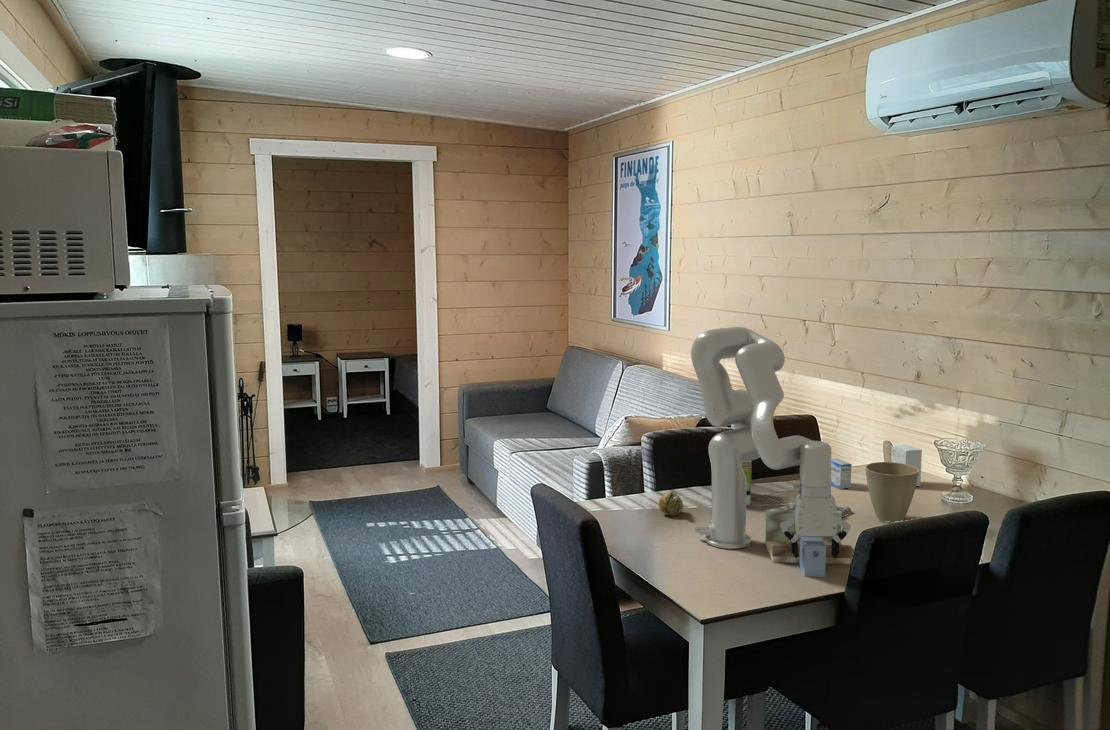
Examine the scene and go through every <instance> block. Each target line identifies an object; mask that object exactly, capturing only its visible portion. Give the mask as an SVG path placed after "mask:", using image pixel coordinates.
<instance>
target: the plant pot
mask: <svg viewBox="0 0 1110 730" xmlns="http://www.w3.org/2000/svg"><path fill="white" fill-rule="evenodd" d="M864 468H865V476H866V477H865V479H866V484H867V489H868V494H869V498H870V501H871V505H872V508H873V511H874V514H875V516H876V517H875V518H876V519H877V518H878V519H879V520H878V519H877V520H878V521H880V520H882V521H890V522H895V521H901V520H903V521H904V520H905V518H906V516H907V514H908V512H909V509H910V506H911V503H912V501H913V498H914V494H915V492H916V491H915V490H916V488H917V487H916V483H917V478H918V473H919V469H918V468H916V467H914V466H911V465H908V464H903V463H895V462H891V461H879V462H878V461H876V462H871V463H868V464H866V465H865V466H864ZM882 521H881V522H882ZM890 522H889V523H888V522H887V524H891V523H890Z"/></svg>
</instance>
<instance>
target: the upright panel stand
mask: <svg viewBox="0 0 1110 730" xmlns="http://www.w3.org/2000/svg"><path fill="white" fill-rule="evenodd" d="M794 511H795V510H771V509H765V539H764V540H765V542H764V543H765V544H764V545H765V547H766V549H767V552H768V554H769V556H770V559H771V561H772V562H773V563H797V564H798V563H799V562H800V537H799V538H798V539H797V543H798V557H797V558H795V557H794V555H793V554H791V541H790V540H789V539H788V538H787V537H786V536H785V535H784V533H783V531H782V529H781V527H780V523H782V522H784V521H786V520H788V519H790V518H792V517H794ZM837 518H839V519H841V520H843V518H842V512H841V511H837ZM787 530H788V531H789V532H790V533H792V532H793V531H794V530H795V529H794V524H792V525H790V526H788V527H787ZM841 530H842V526H840V525H838V524H837V534H838V533H839V532H840V531H841ZM821 539H822V540H823V542H824V544H825V545H826V564H840V565H841V564H842V565H844V564H845V565H851V564H852V553H853V552H852V551H853V547H852V546H851V544H843V543H842V541H841V542H840V543H839V554H837V558H834V557H833V556H832V553H831V551H832V539H833V537H821ZM850 563H851V564H850Z"/></svg>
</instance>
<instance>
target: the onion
mask: <svg viewBox="0 0 1110 730" xmlns="http://www.w3.org/2000/svg"><path fill="white" fill-rule="evenodd" d="M658 507H659V510H660V511H661V512H662V513H663V514H664V515H665V516H669V515H674V516H677V515H679V514H681V513H682V511H683V509H684V502H683V500H682V499H681V497H680V496H679V494H678V493H677V492H675V491H672V490H670V491H669V492H667V493H665V494H663V495H662V496H661V497H660V498H659V500H658Z"/></svg>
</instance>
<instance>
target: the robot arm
mask: <svg viewBox="0 0 1110 730" xmlns="http://www.w3.org/2000/svg"><path fill="white" fill-rule="evenodd" d="M733 358H734V361H735V365H736V368H737V369H738V372H739V375H740V377H741V380H742V382H743V385H744V387H745V389H741V388H740V389H739V388H738V389H734V390H733V387H732V385H731V379H730V376H729V373H728V371H727V369H726V368H725V366H724V365H723V364H722V363H721V360H726V359H733ZM690 359H691V362H692V366H693V369H694V371H695V375H696V377H697V381H698V385H699V390H700V393H701V398H702V402H703V408H704V413H705V415H706V418H707V421H708V422H709V424H711V426H713V427H717V428H723V427H727V426H728V427H729V426H732V425H733V426H734V429H730V430H725V431H722V432H719V433H717V434H715V435H714V436H713V437H712V438H711V439H710V441H709V442H708V443H709V444H708V456H709V461H710V467H711V469H710V470H711V511H710V513H711V515H710V516H711V518H710V519H711V521H710V522H709V524H706V525H705V526H702V525H695V526H694V533H695V534H697V533H698V534H699V536H705V541H706V543H707V544H709V545H711V546H713V547H716V548H719V549H720V548H721V549H729V550H732V549H735V550H737V549H744V548H746V547H749V546H750V545H751V544H752V538H751V536H750V535H749V534H747V533H746V532H747V529H746V528H747V505H746V488H747V482H746V476H745V473H744V471H743V469H742V465H741V464H742V463H744V462H748V461H751V462H752V461H755V460H758V459H759V458H760V459H761V461H762V462H763V464H764V465H765V466H766V467H768V468H769V469H771V470H777V471H778V470H779V471H780V470H782V469H783V470H784V469H787V468H790V467H797V466H799V482H798V485H793V492H797V493H798V494H797V495H796V499H795V502H794V503H795V511H794V517H792V518H790V519H788V520H786V521H784V522H782V523H780V527H781V529H782V531H783V533H784V535H785V536H786V537H787V538H788V539H789V540H790V541H791V554H793V555H794V557H795V558H797V557H798V543H797V539H798V538H799V537H800V536H801V537H833V539H832V551H831V553H832V556H833V557H834V558H837V554H839V543H840V542H841V543H842V541H843V539H845V538H846V537H847V535H848V533H849V531H850V530H851V527H852V525H851V524H850V523H849V522H846V521H845V520H843V519H842V520H841V519H839V518H837V511H836V506H837V505H836V498H835V496H833V494H832V486H831V459H832V447H831V445H830V444H829V443H828V442H825V441H822V440H812V439H809V438H807V437H804V436H802V435H798V434H797V435H791V436H784V437H781V438H778V434H777V431H776V429H775V426H774V415H775V414H774V413H775V411H776V409H777V407H778V406H779V405H780V403H781V402H783V400H784V397H785V392H784V390H783V388H782V386H781V384H780V381H779V379H778V376H777V374H776V372H779V371H780V370H781V369H782V368H783V367H784V366H785V365H784V364H785V362H786V358H785V354H784V351H783V349H782V348H781V346H780V345H778V343H776V342H775V341H773V340H772V339H770V338H767V337H765V336H764V335H761V334H759V333H757V332H755V331H754V330H751V329H749V328H747V327H743V326H733V327H721V328H713V329H708V330H706V331H703V332H701V333H700V334H699V335H698V336H696V338H695V339H694V341H693V343H692V346H691V350H690ZM792 524H794V529H795V530H794V531H793V532H792V533H790V532H789V531H788V530H787V527H788V526H790V525H792ZM837 524H838V525H840V526H841V531H840V532H839V533H838V534H837Z"/></svg>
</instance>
